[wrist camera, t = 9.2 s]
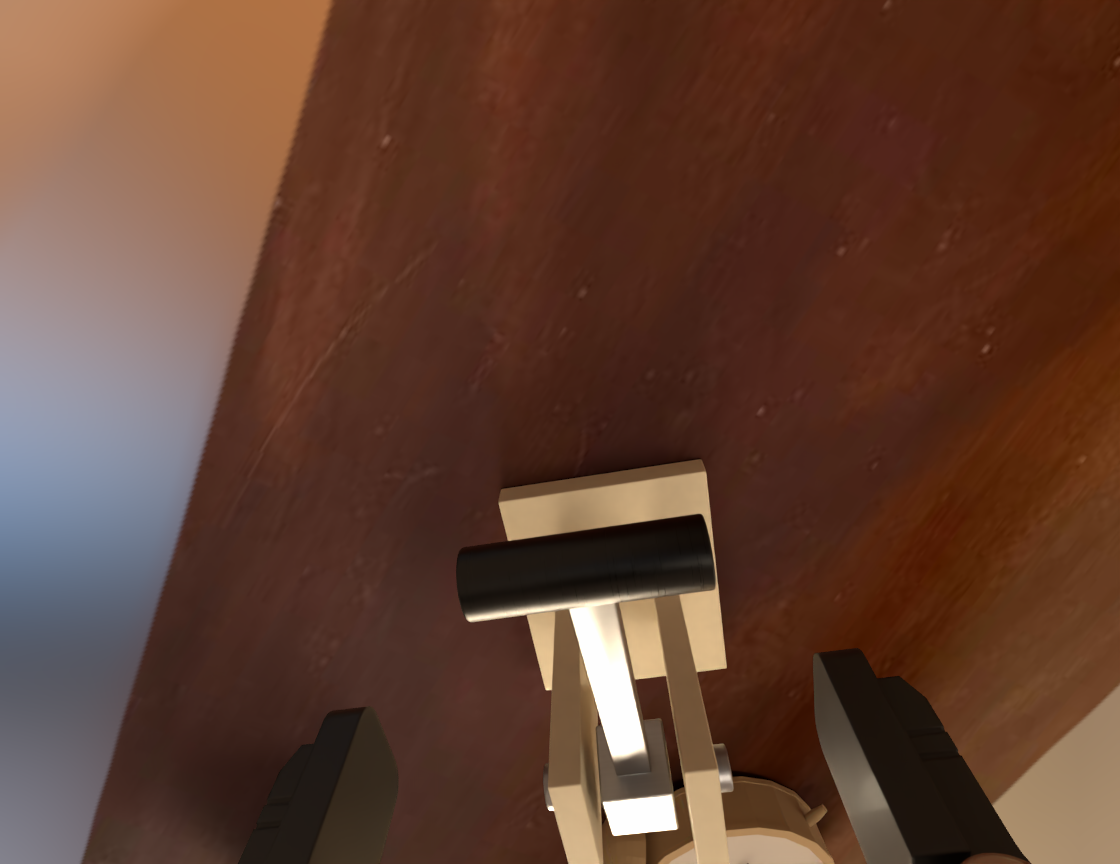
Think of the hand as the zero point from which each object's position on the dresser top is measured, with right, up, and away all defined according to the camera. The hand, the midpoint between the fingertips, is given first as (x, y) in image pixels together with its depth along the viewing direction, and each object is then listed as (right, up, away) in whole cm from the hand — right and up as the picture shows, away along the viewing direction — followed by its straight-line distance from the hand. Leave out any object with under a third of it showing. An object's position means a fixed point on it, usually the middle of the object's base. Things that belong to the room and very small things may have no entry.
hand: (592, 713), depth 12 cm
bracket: (+2, -2, +20) cm, 20 cm away
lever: (+1, -1, +7) cm, 8 cm away
